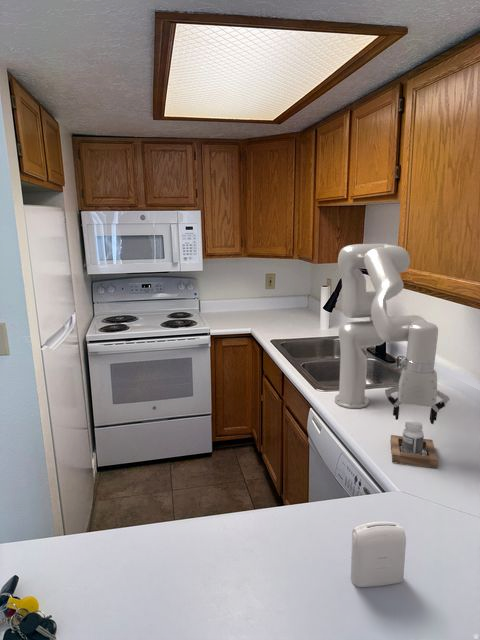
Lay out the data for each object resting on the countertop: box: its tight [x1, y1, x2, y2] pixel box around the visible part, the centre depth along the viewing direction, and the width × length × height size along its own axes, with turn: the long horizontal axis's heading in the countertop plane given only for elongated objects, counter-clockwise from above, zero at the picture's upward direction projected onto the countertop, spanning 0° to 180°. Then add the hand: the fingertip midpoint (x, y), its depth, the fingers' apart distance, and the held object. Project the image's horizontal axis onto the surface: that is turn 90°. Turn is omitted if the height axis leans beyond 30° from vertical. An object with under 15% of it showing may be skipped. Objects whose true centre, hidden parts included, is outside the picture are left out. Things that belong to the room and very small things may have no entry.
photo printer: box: [350, 521, 407, 588], centre depth 83 cm, size 10×4×12 cm, turn 96°
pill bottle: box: [401, 419, 425, 455], centre depth 127 cm, size 6×6×10 cm
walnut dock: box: [389, 434, 439, 469], centre depth 127 cm, size 12×12×2 cm
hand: (413, 419), depth 126 cm, fingers open, 9 cm apart
